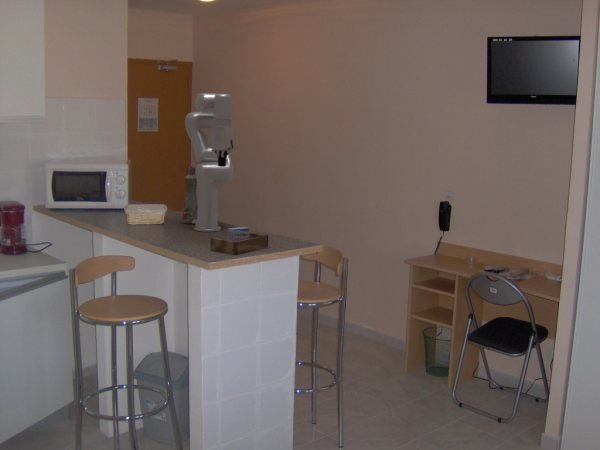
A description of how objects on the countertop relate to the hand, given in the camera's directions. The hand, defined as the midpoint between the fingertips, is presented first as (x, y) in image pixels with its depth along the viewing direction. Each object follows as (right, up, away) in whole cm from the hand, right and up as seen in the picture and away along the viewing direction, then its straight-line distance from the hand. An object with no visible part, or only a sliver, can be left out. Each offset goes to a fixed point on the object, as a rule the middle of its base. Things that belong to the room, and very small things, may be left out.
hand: (221, 166), depth 308 cm
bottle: (-20, -25, +44) cm, 55 cm away
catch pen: (+8, -35, -13) cm, 38 cm away
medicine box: (+8, -35, -13) cm, 38 cm away
